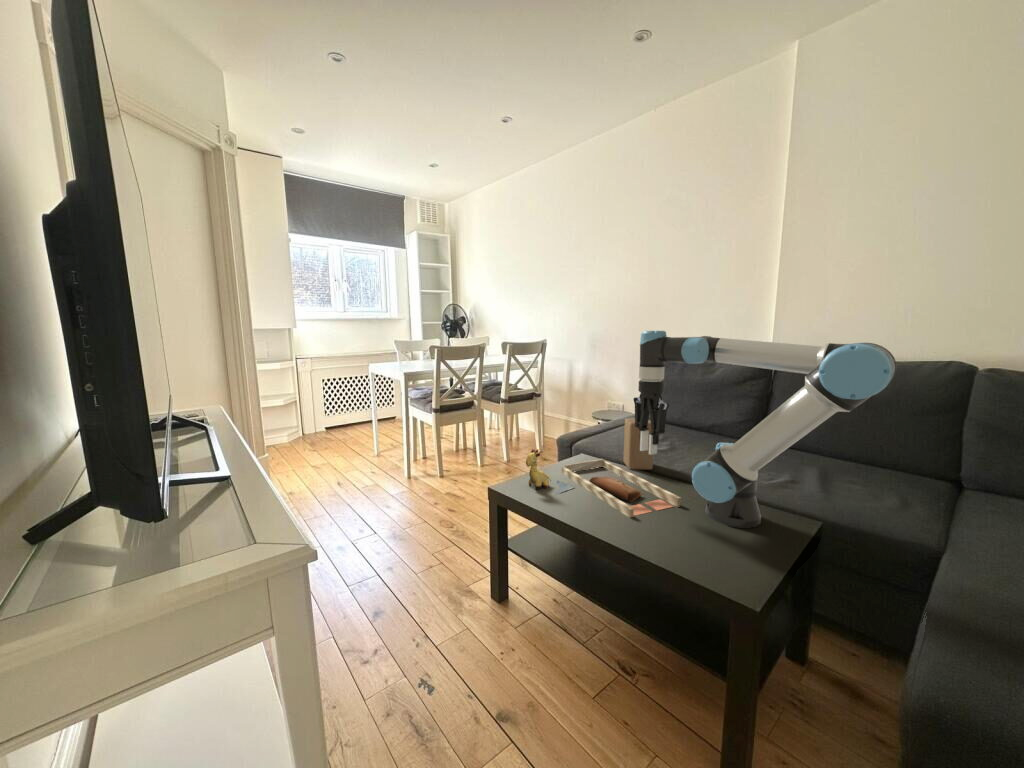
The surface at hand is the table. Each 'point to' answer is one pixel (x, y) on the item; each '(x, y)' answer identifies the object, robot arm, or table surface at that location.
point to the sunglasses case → (616, 488)
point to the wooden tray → (640, 482)
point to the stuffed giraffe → (541, 475)
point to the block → (635, 447)
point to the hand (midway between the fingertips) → (648, 451)
